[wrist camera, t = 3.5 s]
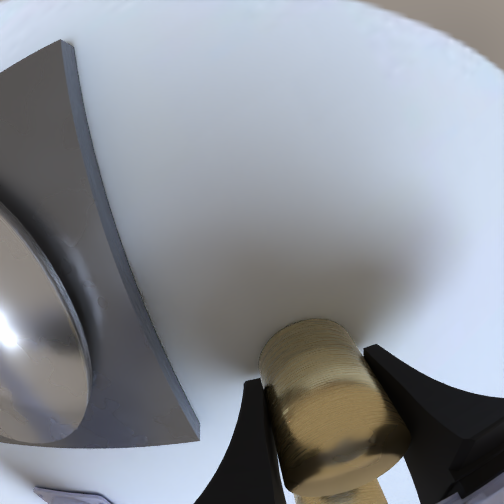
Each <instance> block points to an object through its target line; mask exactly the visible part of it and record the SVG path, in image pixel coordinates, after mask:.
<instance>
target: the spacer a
mask: <svg viewBox="0 0 504 504" xmlns="http://www.w3.org/2000/svg"><path fill="white" fill-rule="evenodd" d="M259 371H260V376H261V381H262V385H263V389H264V394H265V398H266V403H267V408H268V413H269V418H270V423H271V427H272V432H273V436H274V441H275V445H276V450H277V454H278V459H279V463H280V468H281V472H282V476H283V481H284V485H285V487H286V488H287V489H288V490H289V491H290V492H292V493H294V494H296V495H300V496H306V497H322V496H330V495H335V494H340V493H343V492H347V491H350V490H353V489H355V488H358V487H360V486H363V485H365V484H367V483H369V482H371V481H373V480H374V479H376V478H378V477H379V476H381V475H382V474H384V473H385V472H387V471H388V470H389V469H390V468H392V467H393V466H394V465H395V464H396V463H397V462H398V461H399V460H400V459H401V458H402V457H403V455H404V454H405V453H406V451H407V449H408V448H409V445H410V442H411V434H410V431H409V430H408V428H407V426H406V425H405V423H404V422H403V420H402V418H401V417H400V415H399V413H398V412H397V410H396V408H395V407H394V405H393V403H392V402H391V400H390V399H389V397H388V395H387V394H386V392H385V391H384V389H383V387H382V386H381V384H380V383H379V381H378V379H377V378H376V376H375V375H374V373H373V371H372V370H371V368H370V367H369V365H368V363H367V362H366V360H365V359H364V357H363V356H362V354H361V352H360V351H359V349H358V348H357V346H356V345H355V343H354V342H353V340H352V338H351V337H350V335H349V334H348V332H347V331H346V330H345V329H344V328H343V327H342V326H340V325H339V324H337V323H335V322H332V321H329V320H323V319H310V320H304V321H300V322H297V323H294V324H292V325H290V326H287V327H286V328H284V329H282V330H281V331H279V332H278V333H276V334H275V335H274V336H273V337H272V338H271V339H270V340H269V341H268V342H267V344H266V345H265V347H264V348H263V350H262V352H261V355H260V359H259Z"/></svg>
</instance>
